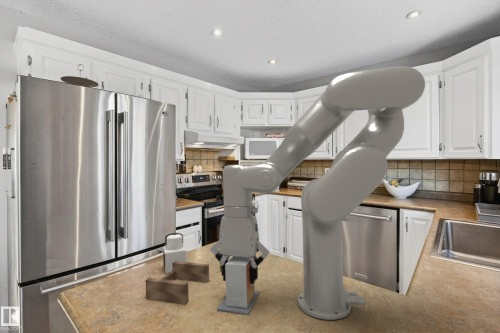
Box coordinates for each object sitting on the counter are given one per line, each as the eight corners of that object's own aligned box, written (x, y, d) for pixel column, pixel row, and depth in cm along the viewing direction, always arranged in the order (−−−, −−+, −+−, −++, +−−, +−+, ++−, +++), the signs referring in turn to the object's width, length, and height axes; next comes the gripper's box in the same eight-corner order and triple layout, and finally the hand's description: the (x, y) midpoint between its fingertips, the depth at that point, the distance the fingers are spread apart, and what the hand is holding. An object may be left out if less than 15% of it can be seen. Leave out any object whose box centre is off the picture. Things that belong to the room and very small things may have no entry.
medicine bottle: (163, 266, 89) (162, 233, 89) (183, 263, 92) (183, 230, 92) (164, 274, 83) (164, 237, 83) (186, 270, 85) (186, 235, 85)
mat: (259, 292, 69) (259, 291, 69) (248, 315, 58) (248, 313, 58) (232, 289, 71) (232, 287, 71) (217, 310, 61) (217, 308, 61)
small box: (247, 309, 60) (246, 265, 60) (225, 306, 62) (224, 263, 62) (255, 293, 68) (254, 254, 68) (235, 290, 69) (235, 253, 70)
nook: (209, 280, 77) (208, 264, 77) (185, 304, 64) (185, 284, 64) (175, 276, 80) (174, 261, 80) (145, 298, 67) (145, 280, 67)
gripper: (273, 210, 66) (275, 277, 66) (213, 208, 71) (214, 271, 71) (267, 215, 59) (269, 290, 59) (201, 213, 64) (203, 283, 64)
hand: (239, 279), depth 65 cm, fingers open, 6 cm apart
